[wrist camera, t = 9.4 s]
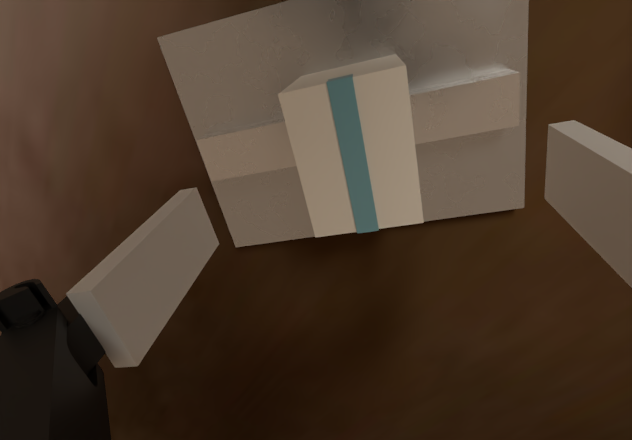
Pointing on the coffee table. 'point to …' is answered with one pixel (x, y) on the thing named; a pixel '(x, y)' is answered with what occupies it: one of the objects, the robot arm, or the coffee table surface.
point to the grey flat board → (345, 49)
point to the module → (355, 146)
